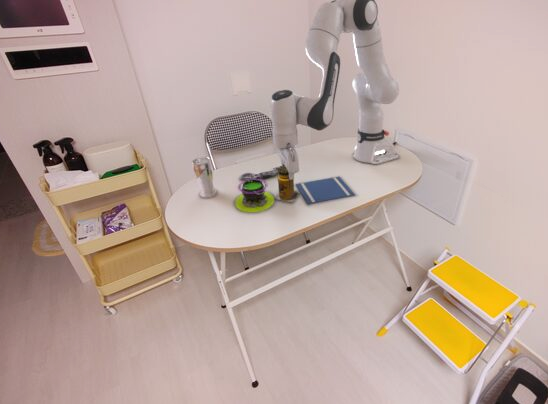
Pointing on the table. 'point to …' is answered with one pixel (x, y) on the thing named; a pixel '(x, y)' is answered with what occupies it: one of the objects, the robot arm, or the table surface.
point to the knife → (261, 174)
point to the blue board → (324, 190)
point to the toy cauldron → (254, 196)
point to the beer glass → (204, 176)
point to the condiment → (286, 186)
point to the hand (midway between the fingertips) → (287, 173)
